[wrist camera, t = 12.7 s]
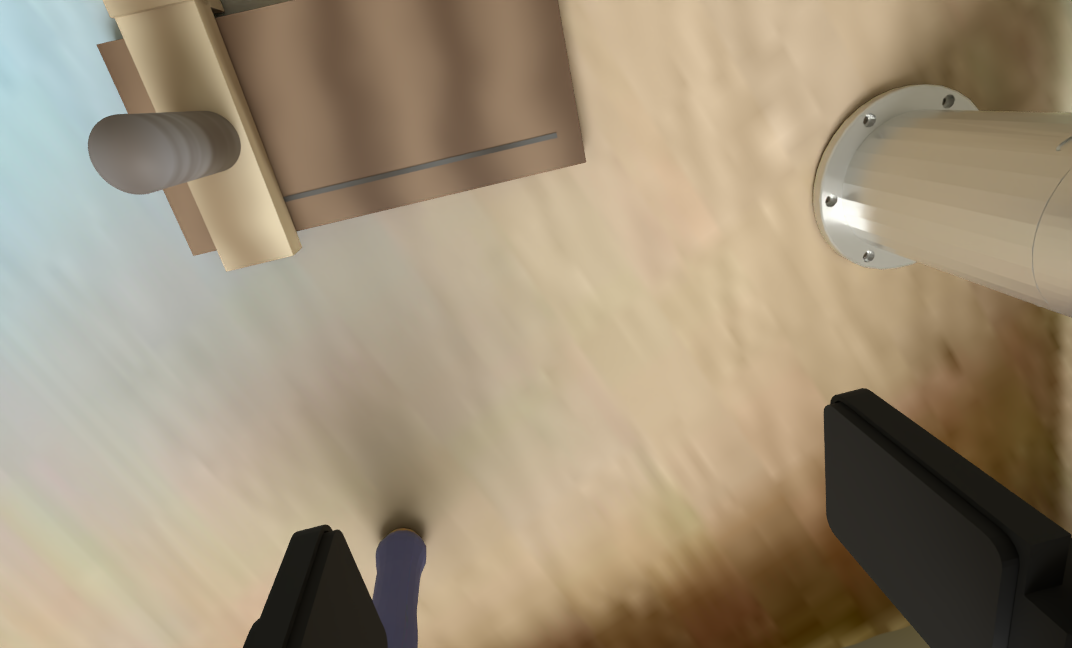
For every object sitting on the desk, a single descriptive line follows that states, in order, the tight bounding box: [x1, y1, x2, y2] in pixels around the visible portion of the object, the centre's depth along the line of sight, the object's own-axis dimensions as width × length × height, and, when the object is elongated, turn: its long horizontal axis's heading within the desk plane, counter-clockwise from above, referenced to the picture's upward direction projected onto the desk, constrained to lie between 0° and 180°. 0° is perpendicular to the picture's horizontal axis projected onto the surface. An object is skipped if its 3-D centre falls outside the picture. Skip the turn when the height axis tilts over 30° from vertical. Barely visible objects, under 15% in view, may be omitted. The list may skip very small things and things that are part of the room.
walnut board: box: [97, 0, 586, 256], centre depth 35 cm, size 25×12×2 cm, turn 102°
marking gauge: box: [88, 0, 302, 272], centre depth 29 cm, size 4×15×12 cm, turn 12°
